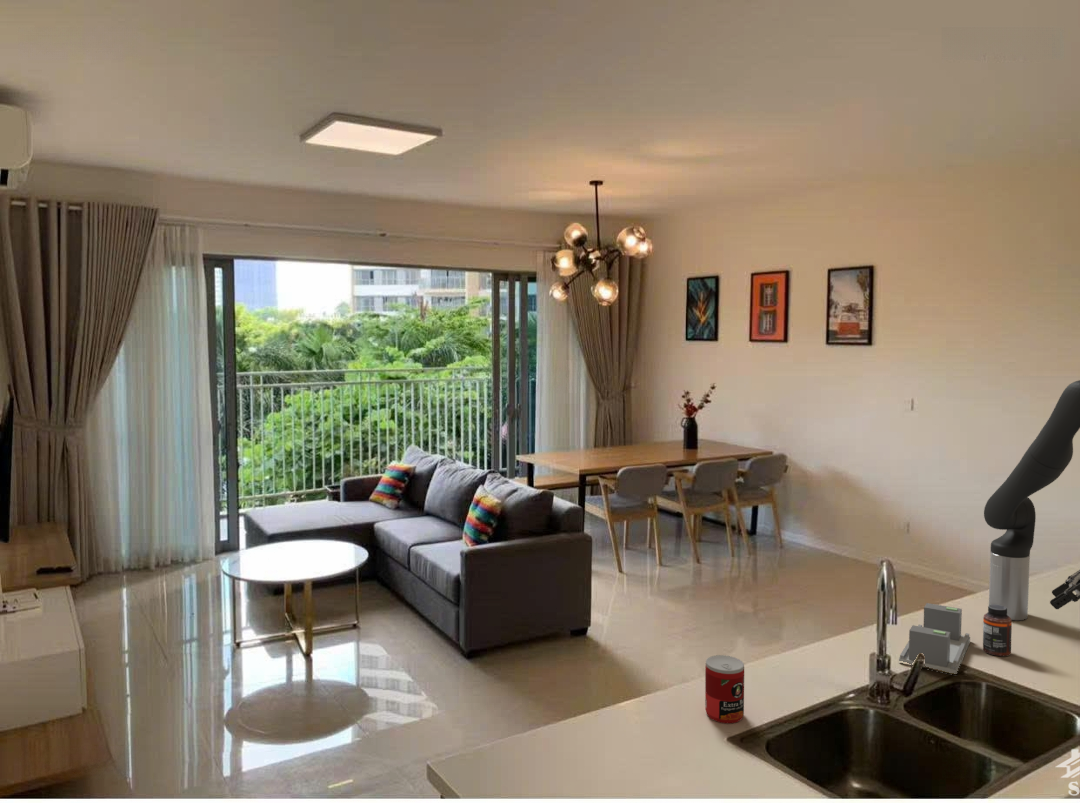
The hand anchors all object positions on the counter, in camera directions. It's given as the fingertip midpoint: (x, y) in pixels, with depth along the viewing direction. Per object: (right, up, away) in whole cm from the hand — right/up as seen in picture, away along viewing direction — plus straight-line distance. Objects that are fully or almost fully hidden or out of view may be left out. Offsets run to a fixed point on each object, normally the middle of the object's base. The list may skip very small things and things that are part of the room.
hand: (1053, 600), depth 181 cm
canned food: (-82, -18, -22) cm, 87 cm away
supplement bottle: (-9, -15, +8) cm, 19 cm away
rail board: (-23, -15, +8) cm, 29 cm away
